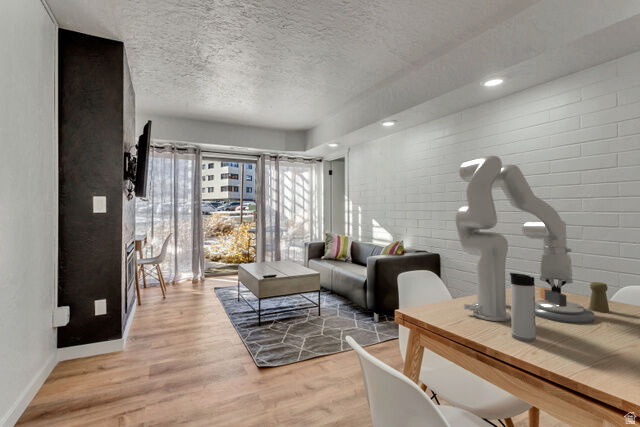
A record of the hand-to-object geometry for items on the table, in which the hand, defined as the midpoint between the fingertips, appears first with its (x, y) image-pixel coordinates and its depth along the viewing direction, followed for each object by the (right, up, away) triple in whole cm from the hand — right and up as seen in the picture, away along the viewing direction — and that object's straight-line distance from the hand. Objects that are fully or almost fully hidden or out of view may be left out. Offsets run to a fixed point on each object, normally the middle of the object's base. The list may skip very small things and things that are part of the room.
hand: (556, 296), depth 126 cm
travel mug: (-33, -5, -29) cm, 44 cm away
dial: (-4, -3, -6) cm, 7 cm away
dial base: (-4, -5, -7) cm, 10 cm away
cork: (+15, -5, -3) cm, 16 cm away
